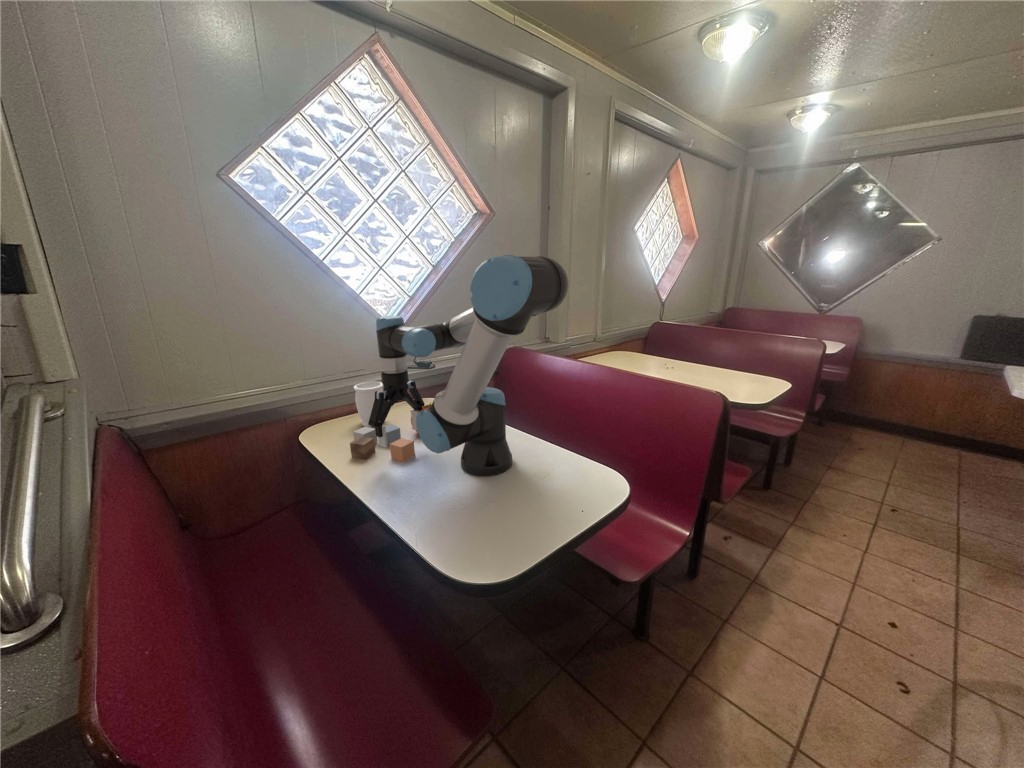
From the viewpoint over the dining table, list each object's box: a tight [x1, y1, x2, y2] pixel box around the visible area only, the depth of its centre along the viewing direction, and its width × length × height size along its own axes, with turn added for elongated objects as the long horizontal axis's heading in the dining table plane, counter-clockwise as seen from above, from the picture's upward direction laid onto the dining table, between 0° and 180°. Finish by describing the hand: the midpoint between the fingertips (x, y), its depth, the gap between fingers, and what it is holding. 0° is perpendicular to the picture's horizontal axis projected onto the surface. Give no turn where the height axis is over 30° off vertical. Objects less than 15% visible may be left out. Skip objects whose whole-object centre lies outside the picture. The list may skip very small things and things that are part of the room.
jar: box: [353, 381, 384, 428], centre depth 148 cm, size 11×10×15 cm
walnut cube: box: [349, 437, 376, 461], centre depth 123 cm, size 5×5×5 cm
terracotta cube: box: [389, 437, 416, 463], centre depth 121 cm, size 5×5×5 cm
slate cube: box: [384, 424, 402, 447], centre depth 132 cm, size 5×5×5 cm
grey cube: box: [352, 426, 378, 445], centre depth 131 cm, size 5×5×5 cm
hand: (400, 437), depth 121 cm, fingers open, 13 cm apart
